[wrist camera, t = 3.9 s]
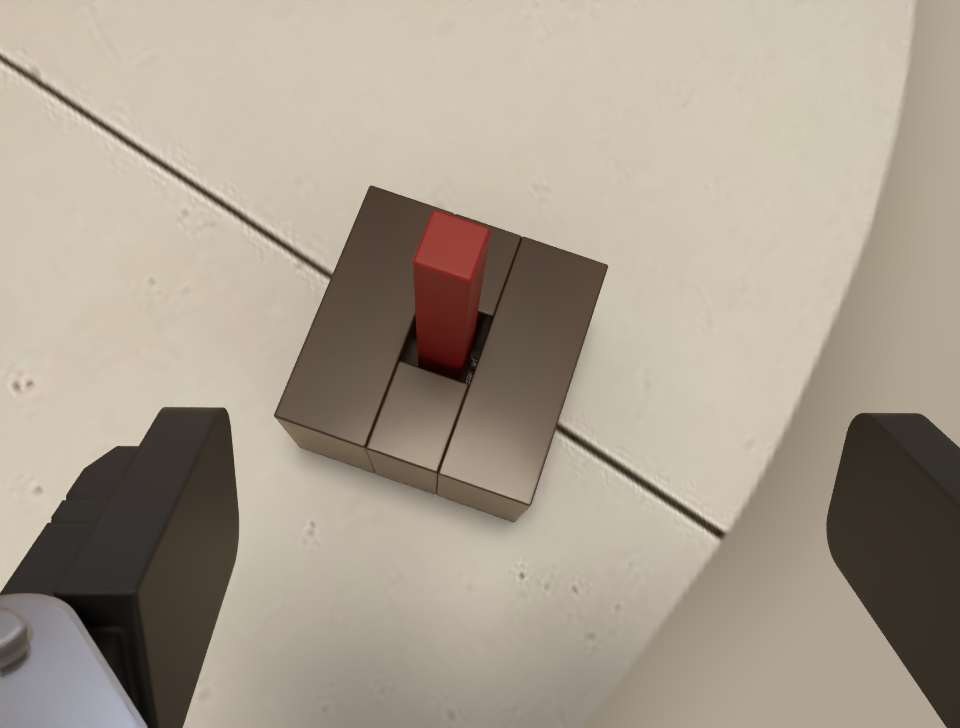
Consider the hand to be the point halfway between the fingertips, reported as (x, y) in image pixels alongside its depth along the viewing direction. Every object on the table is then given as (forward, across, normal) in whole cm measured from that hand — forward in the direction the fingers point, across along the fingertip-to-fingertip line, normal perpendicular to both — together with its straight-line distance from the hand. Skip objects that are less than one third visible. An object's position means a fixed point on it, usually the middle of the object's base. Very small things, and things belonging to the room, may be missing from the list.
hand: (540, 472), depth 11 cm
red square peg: (+18, +1, +7) cm, 20 cm away
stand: (+18, +1, +7) cm, 20 cm away
